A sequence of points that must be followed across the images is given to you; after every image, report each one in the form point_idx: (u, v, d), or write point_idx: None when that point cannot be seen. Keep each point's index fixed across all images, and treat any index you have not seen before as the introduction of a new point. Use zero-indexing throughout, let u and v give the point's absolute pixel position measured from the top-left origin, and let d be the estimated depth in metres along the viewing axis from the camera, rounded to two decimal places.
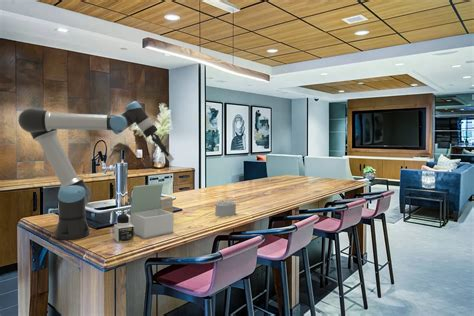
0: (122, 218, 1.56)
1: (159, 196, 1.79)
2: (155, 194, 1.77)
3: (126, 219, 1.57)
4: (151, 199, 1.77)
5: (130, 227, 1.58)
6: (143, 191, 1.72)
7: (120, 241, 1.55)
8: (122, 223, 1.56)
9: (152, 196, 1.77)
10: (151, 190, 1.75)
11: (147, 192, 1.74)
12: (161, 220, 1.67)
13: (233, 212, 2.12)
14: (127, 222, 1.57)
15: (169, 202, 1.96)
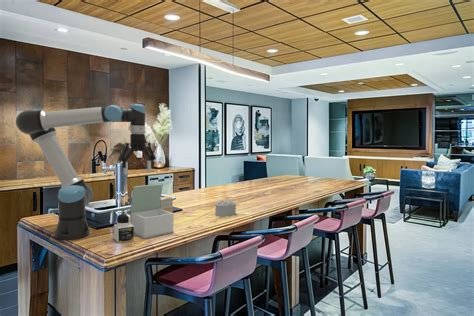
0: (122, 218, 1.56)
1: (159, 196, 1.79)
2: (155, 194, 1.77)
3: (126, 219, 1.57)
4: (151, 199, 1.77)
5: (130, 227, 1.58)
6: (143, 191, 1.72)
7: (120, 241, 1.55)
8: (122, 223, 1.56)
9: (152, 196, 1.77)
10: (151, 190, 1.75)
11: (147, 192, 1.74)
12: (161, 220, 1.67)
13: (233, 212, 2.12)
14: (127, 222, 1.57)
15: (169, 202, 1.96)
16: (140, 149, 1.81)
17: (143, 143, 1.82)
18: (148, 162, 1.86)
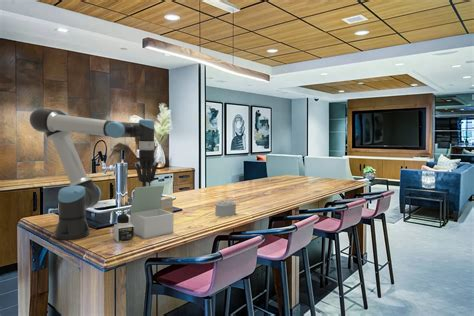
0: (122, 218, 1.56)
1: (159, 197, 1.79)
2: (156, 195, 1.77)
3: (126, 219, 1.57)
4: (152, 200, 1.76)
5: (130, 227, 1.58)
6: (144, 192, 1.71)
7: (120, 241, 1.55)
8: (122, 223, 1.56)
9: (153, 197, 1.76)
10: (152, 191, 1.74)
11: (148, 193, 1.73)
12: (161, 220, 1.67)
13: (233, 212, 2.12)
14: (127, 222, 1.57)
15: (169, 202, 1.96)
16: None
17: (153, 159, 1.75)
18: None
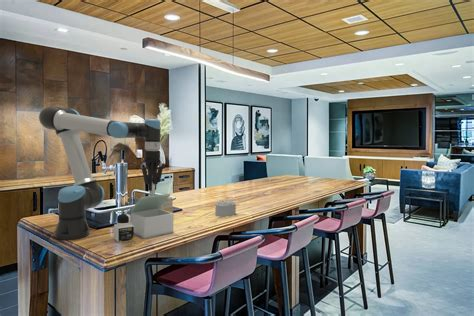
0: (122, 218, 1.56)
1: (162, 201, 1.77)
2: (159, 201, 1.74)
3: (126, 219, 1.57)
4: (154, 204, 1.75)
5: (130, 227, 1.58)
6: (149, 200, 1.68)
7: (120, 241, 1.55)
8: (122, 223, 1.56)
9: (156, 202, 1.74)
10: (157, 199, 1.71)
11: (152, 200, 1.70)
12: (161, 220, 1.67)
13: (233, 212, 2.12)
14: (127, 222, 1.57)
15: (169, 202, 1.96)
16: None
17: (159, 160, 1.71)
18: None
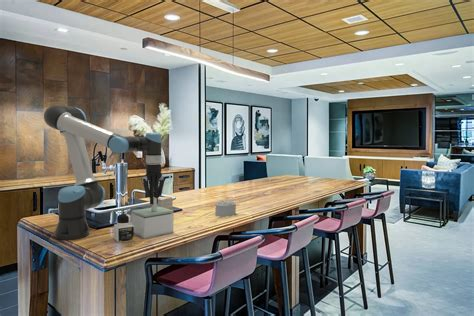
0: (122, 218, 1.56)
1: None
2: None
3: (126, 219, 1.57)
4: None
5: (130, 227, 1.58)
6: None
7: (120, 241, 1.55)
8: (122, 223, 1.56)
9: None
10: None
11: None
12: (161, 220, 1.67)
13: (233, 212, 2.12)
14: (127, 222, 1.57)
15: (169, 202, 1.96)
16: None
17: (160, 173, 1.71)
18: None
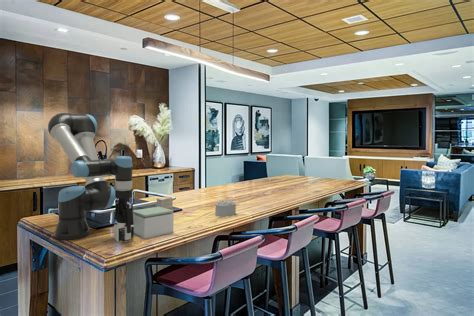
0: (122, 218, 1.56)
1: None
2: None
3: None
4: None
5: None
6: None
7: (120, 241, 1.55)
8: (122, 223, 1.56)
9: None
10: None
11: None
12: (161, 220, 1.67)
13: (233, 212, 2.12)
14: None
15: (169, 202, 1.96)
16: None
17: None
18: None
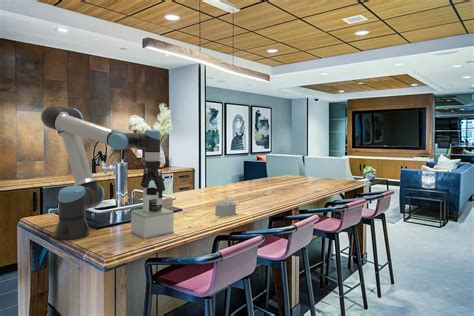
0: (152, 190, 1.68)
1: None
2: None
3: (155, 191, 1.68)
4: None
5: None
6: None
7: (150, 211, 1.67)
8: (152, 195, 1.68)
9: None
10: None
11: None
12: (161, 220, 1.67)
13: (233, 212, 2.12)
14: (156, 194, 1.69)
15: (169, 202, 1.96)
16: None
17: None
18: None
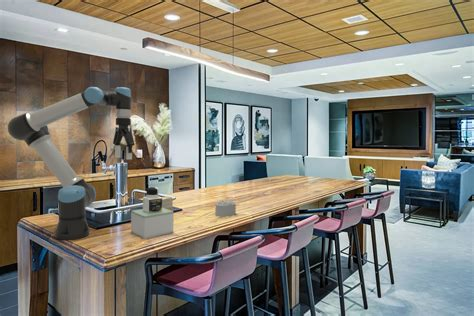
0: (152, 190, 1.68)
1: None
2: None
3: (155, 191, 1.68)
4: None
5: (159, 199, 1.69)
6: None
7: (150, 211, 1.67)
8: (152, 195, 1.68)
9: None
10: None
11: None
12: (161, 220, 1.67)
13: (233, 212, 2.12)
14: (156, 194, 1.69)
15: (169, 202, 1.96)
16: None
17: None
18: (118, 147, 1.82)
